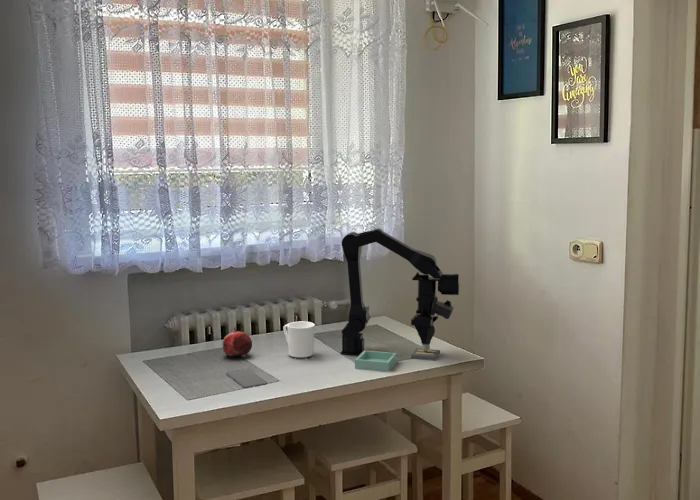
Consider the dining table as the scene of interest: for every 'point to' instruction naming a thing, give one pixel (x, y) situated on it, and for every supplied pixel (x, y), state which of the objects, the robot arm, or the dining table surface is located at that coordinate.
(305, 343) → the mug
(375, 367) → the teal square tray
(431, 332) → the light bulb
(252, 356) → the dining table surface
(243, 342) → the fruit
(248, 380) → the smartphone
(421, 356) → the pad
